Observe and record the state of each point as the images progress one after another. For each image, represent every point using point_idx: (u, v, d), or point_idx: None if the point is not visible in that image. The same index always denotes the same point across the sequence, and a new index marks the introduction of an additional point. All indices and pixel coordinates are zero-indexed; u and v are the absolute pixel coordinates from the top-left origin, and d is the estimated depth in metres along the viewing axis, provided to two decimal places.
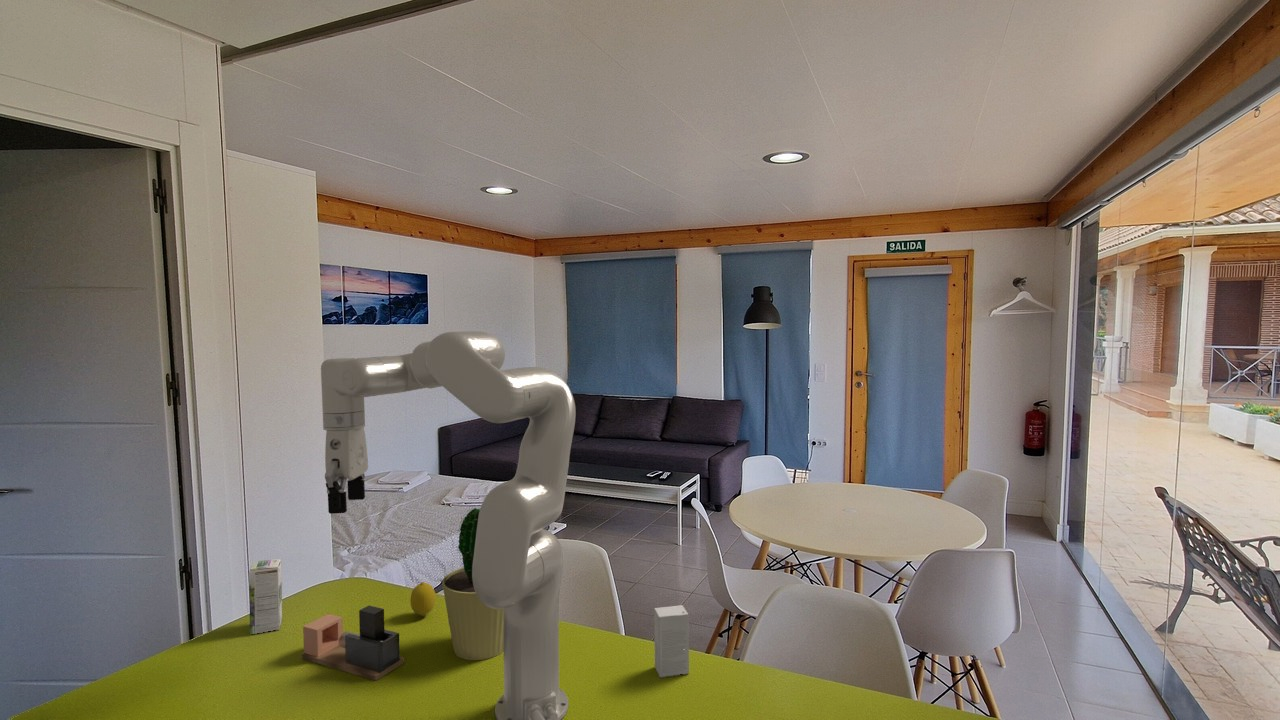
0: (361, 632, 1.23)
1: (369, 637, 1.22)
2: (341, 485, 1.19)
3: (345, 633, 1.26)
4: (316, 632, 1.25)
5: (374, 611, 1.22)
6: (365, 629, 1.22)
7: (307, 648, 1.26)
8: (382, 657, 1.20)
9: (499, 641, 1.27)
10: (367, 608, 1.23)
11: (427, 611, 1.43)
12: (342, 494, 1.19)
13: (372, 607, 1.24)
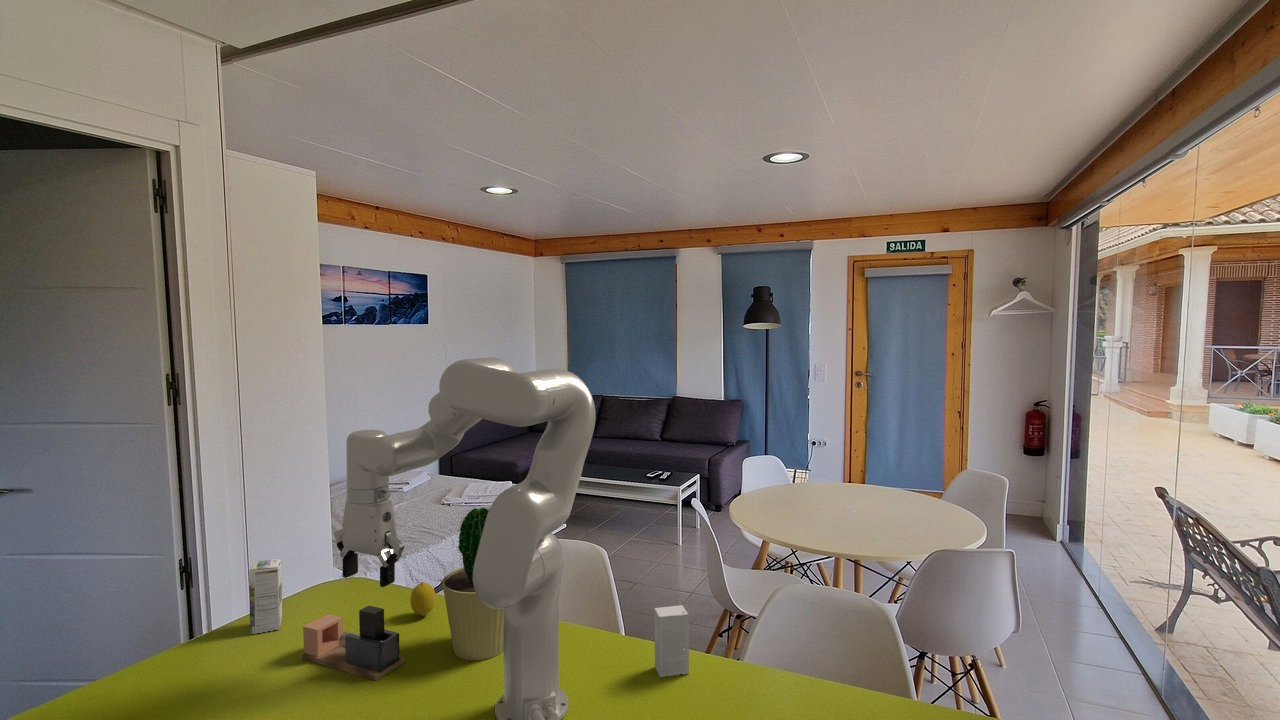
0: (361, 632, 1.23)
1: (369, 637, 1.22)
2: None
3: (345, 633, 1.26)
4: (316, 632, 1.25)
5: (374, 611, 1.22)
6: (365, 629, 1.22)
7: (307, 648, 1.26)
8: (382, 657, 1.20)
9: (499, 641, 1.27)
10: (367, 608, 1.23)
11: (427, 611, 1.43)
12: None
13: (372, 607, 1.24)
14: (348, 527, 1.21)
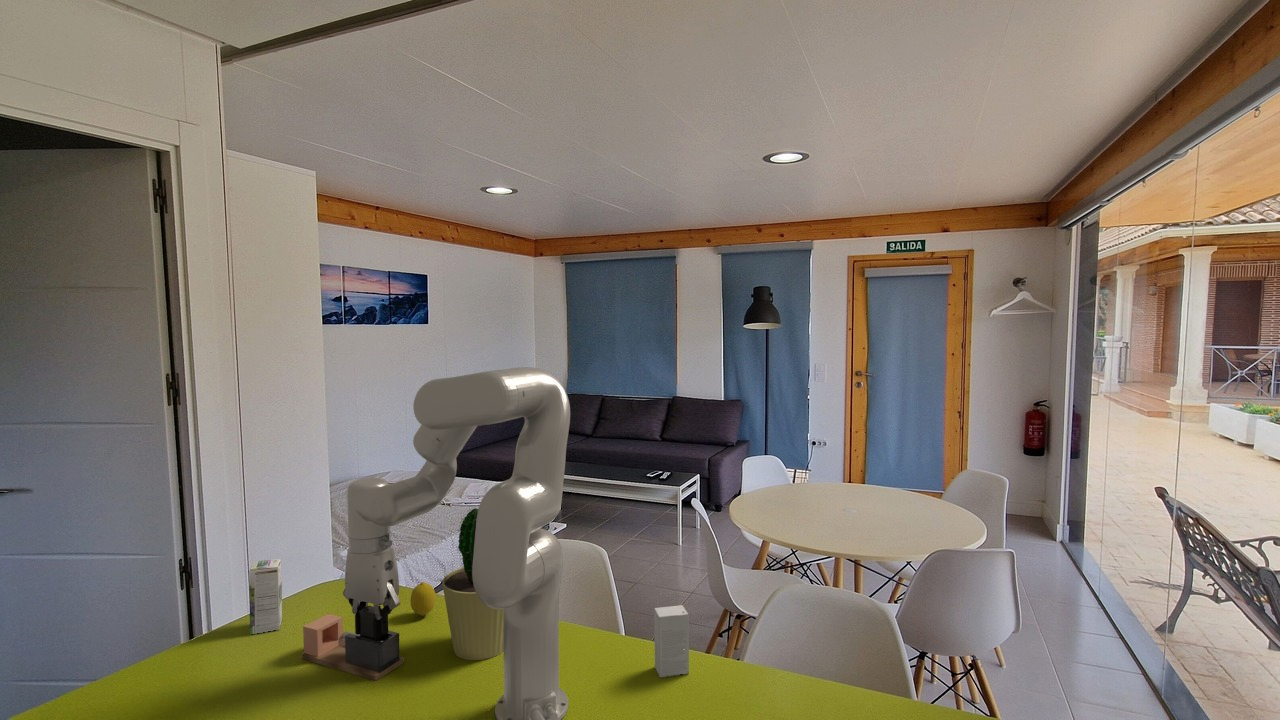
0: (361, 632, 1.23)
1: (369, 637, 1.22)
2: None
3: (345, 633, 1.26)
4: (316, 632, 1.25)
5: (374, 611, 1.22)
6: (365, 629, 1.22)
7: (307, 648, 1.26)
8: (382, 657, 1.20)
9: (499, 641, 1.27)
10: (367, 608, 1.23)
11: (427, 611, 1.43)
12: None
13: (372, 607, 1.24)
14: (350, 576, 1.21)
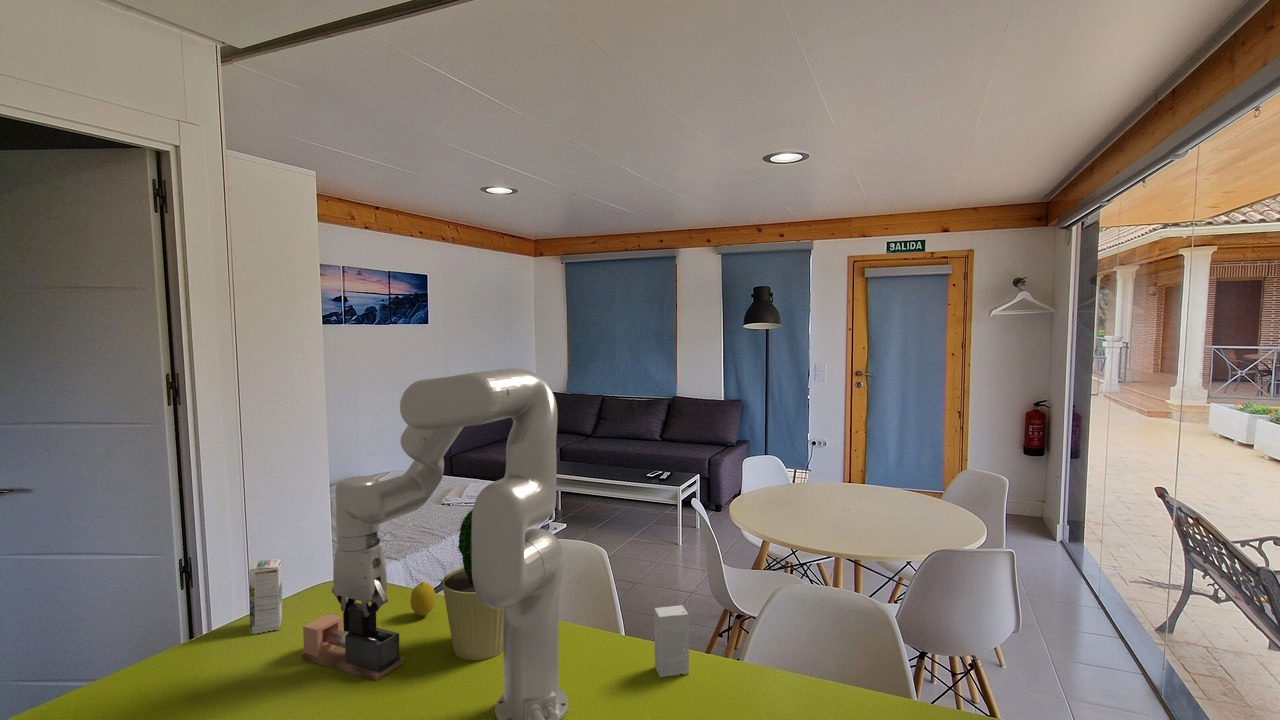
0: (349, 629, 1.24)
1: (357, 634, 1.23)
2: None
3: (334, 630, 1.27)
4: (316, 632, 1.25)
5: None
6: (353, 626, 1.23)
7: (307, 648, 1.26)
8: (382, 657, 1.20)
9: (499, 641, 1.27)
10: (355, 605, 1.25)
11: (427, 611, 1.43)
12: None
13: (360, 604, 1.25)
14: (339, 574, 1.23)
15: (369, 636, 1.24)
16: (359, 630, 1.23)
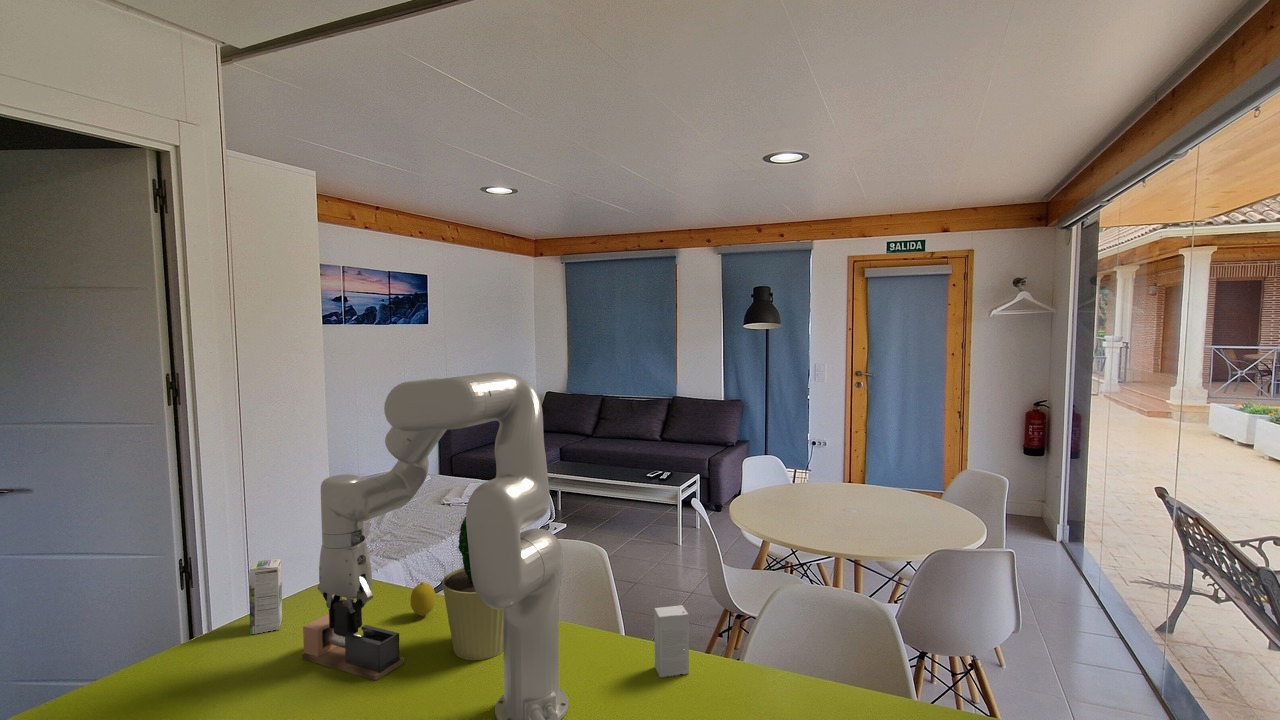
0: (335, 625, 1.25)
1: (342, 630, 1.25)
2: None
3: None
4: (316, 632, 1.25)
5: None
6: (339, 622, 1.25)
7: (307, 648, 1.26)
8: (382, 657, 1.20)
9: (499, 641, 1.27)
10: (341, 602, 1.26)
11: (427, 611, 1.43)
12: None
13: (346, 601, 1.27)
14: (324, 571, 1.24)
15: (354, 632, 1.26)
16: (344, 626, 1.24)
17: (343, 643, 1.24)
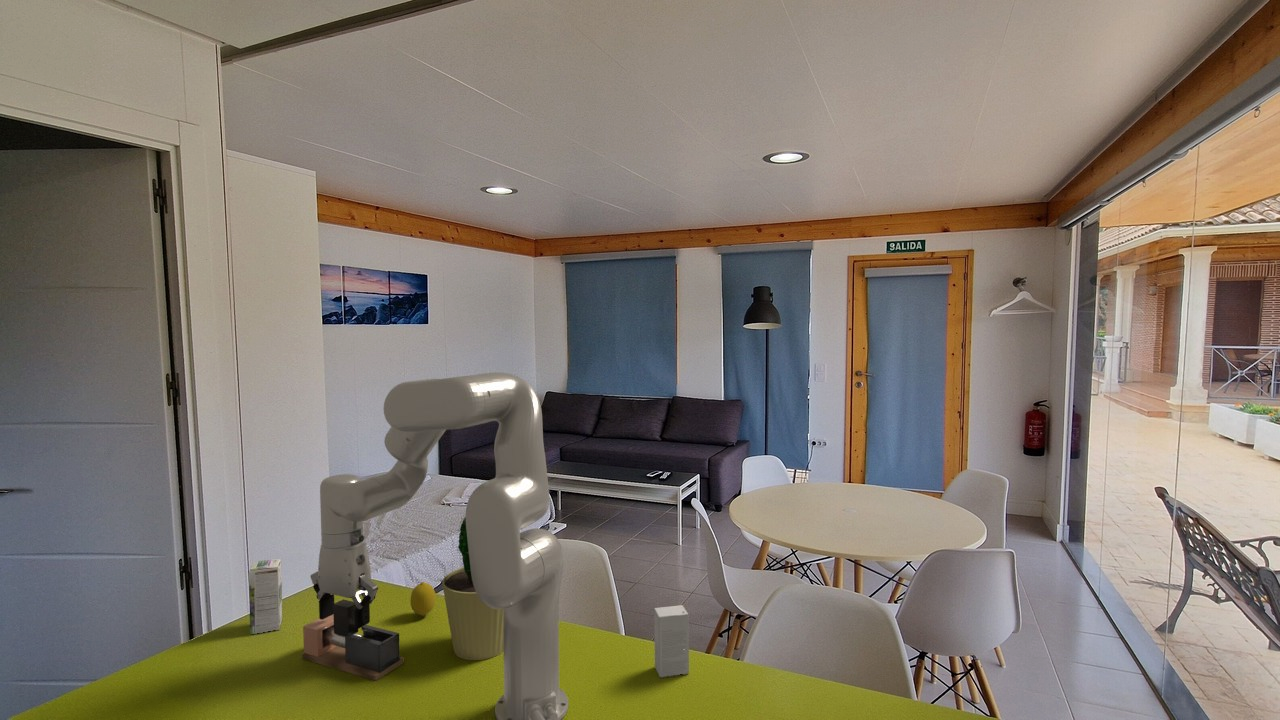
0: (335, 625, 1.25)
1: (343, 630, 1.25)
2: None
3: None
4: (316, 632, 1.25)
5: (348, 605, 1.25)
6: (339, 622, 1.25)
7: (307, 648, 1.26)
8: (382, 657, 1.20)
9: (499, 641, 1.27)
10: (341, 602, 1.26)
11: (427, 611, 1.43)
12: None
13: (346, 601, 1.27)
14: (323, 570, 1.24)
15: (355, 632, 1.25)
16: (345, 626, 1.24)
17: (343, 643, 1.24)
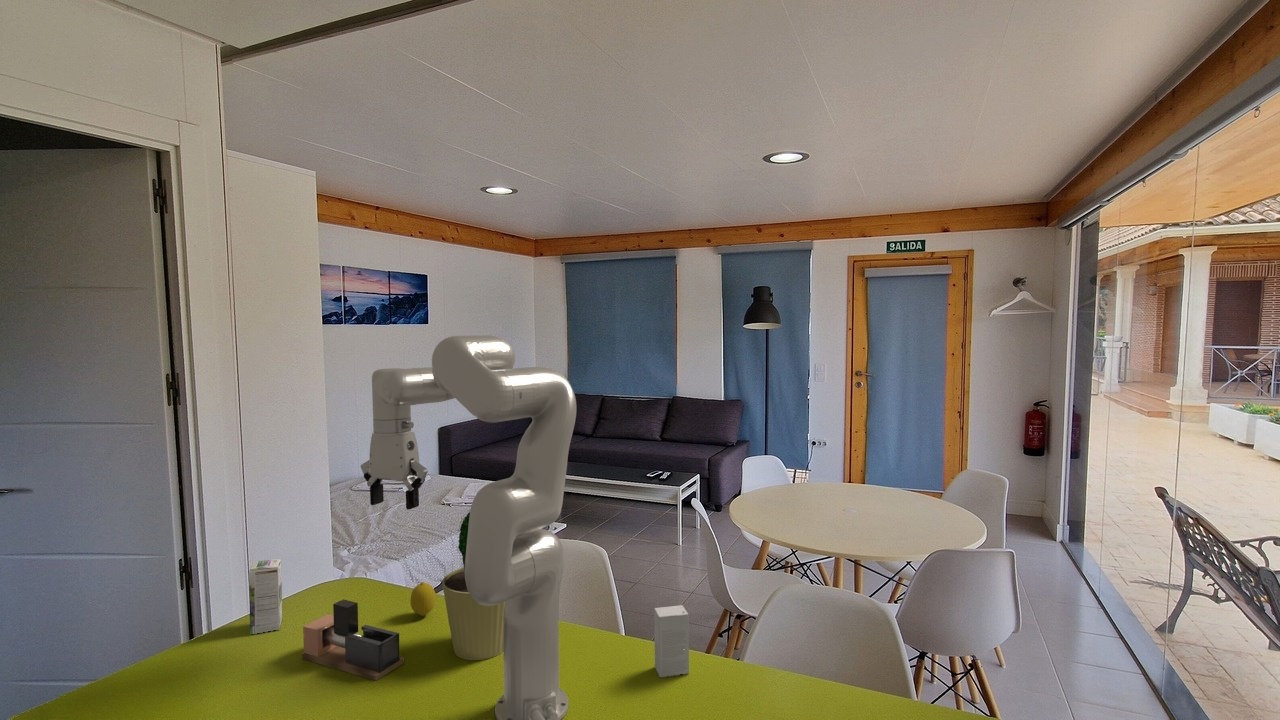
0: (335, 625, 1.25)
1: (343, 630, 1.25)
2: None
3: None
4: (316, 632, 1.25)
5: (348, 605, 1.25)
6: (339, 622, 1.25)
7: (307, 648, 1.26)
8: (382, 657, 1.20)
9: (499, 641, 1.27)
10: (341, 602, 1.26)
11: (427, 611, 1.43)
12: None
13: (346, 601, 1.27)
14: (375, 457, 1.32)
15: (355, 632, 1.25)
16: (345, 626, 1.24)
17: (343, 643, 1.24)
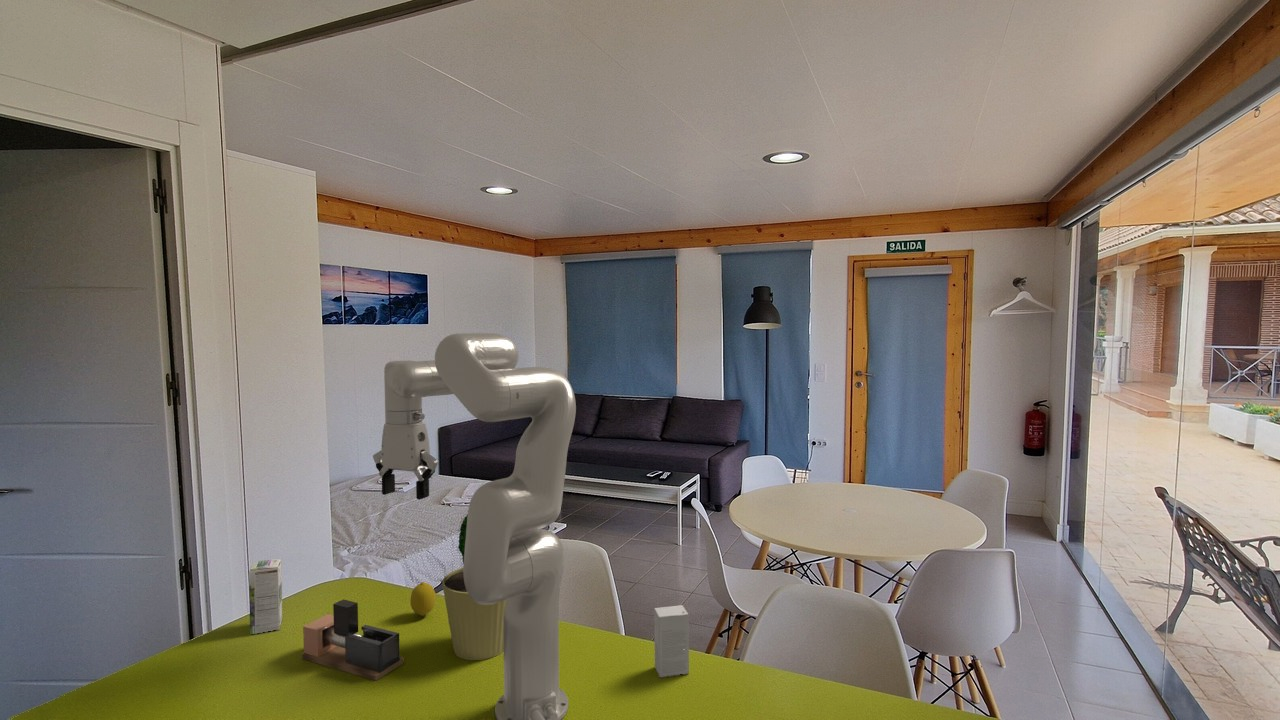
0: (335, 625, 1.25)
1: (343, 630, 1.25)
2: None
3: None
4: (316, 632, 1.25)
5: (348, 605, 1.25)
6: (339, 622, 1.25)
7: (307, 648, 1.26)
8: (382, 657, 1.20)
9: (499, 641, 1.27)
10: (341, 602, 1.26)
11: (427, 611, 1.43)
12: None
13: (346, 601, 1.27)
14: (387, 447, 1.35)
15: (355, 632, 1.25)
16: (345, 626, 1.24)
17: (343, 643, 1.24)
